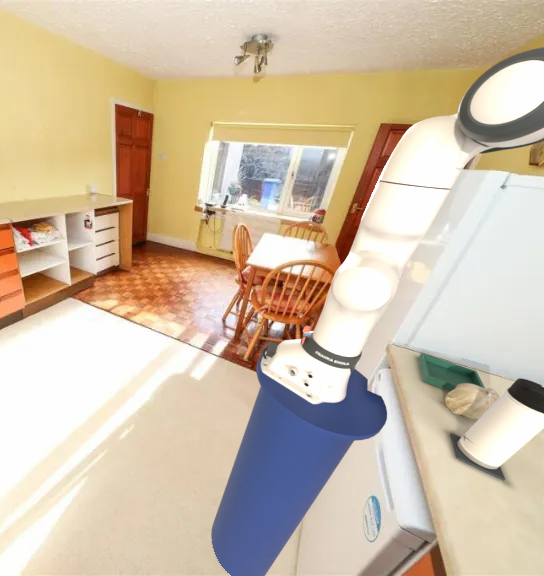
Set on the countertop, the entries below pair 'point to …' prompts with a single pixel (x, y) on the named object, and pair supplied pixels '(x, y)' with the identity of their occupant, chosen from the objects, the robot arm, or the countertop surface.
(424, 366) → the tray
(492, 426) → the travel mug
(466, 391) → the garlic bulb
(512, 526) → the countertop surface
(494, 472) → the mat
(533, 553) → the countertop surface
